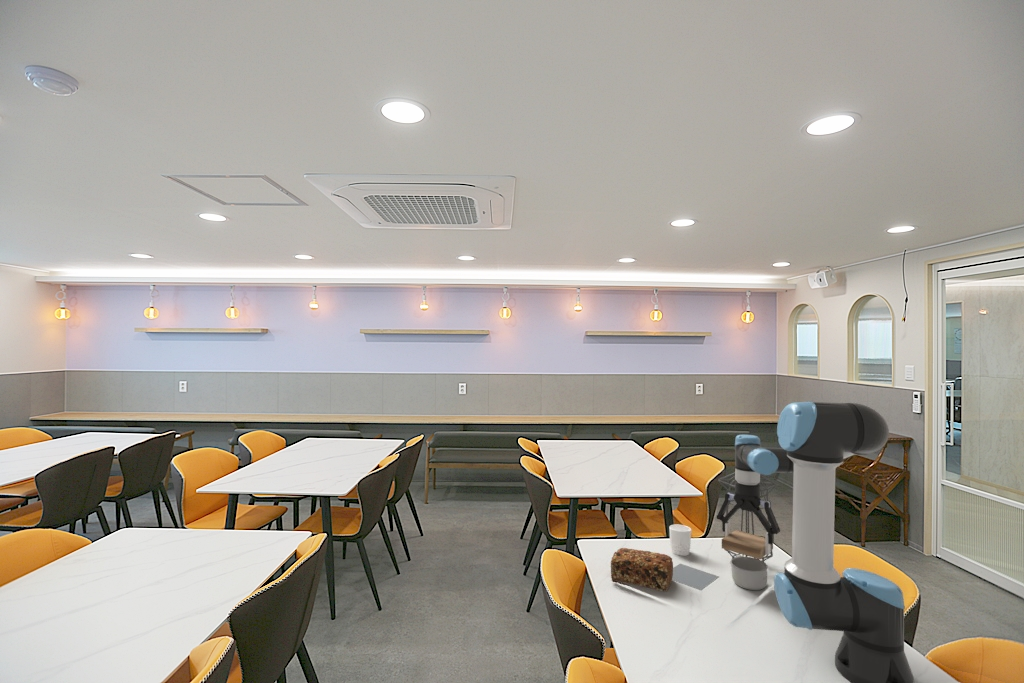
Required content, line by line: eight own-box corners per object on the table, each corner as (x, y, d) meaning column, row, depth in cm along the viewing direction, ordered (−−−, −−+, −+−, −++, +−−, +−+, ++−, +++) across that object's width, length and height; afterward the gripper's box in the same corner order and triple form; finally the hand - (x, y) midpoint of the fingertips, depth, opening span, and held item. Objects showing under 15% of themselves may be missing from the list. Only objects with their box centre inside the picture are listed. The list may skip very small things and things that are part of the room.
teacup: (771, 597, 154) (771, 571, 154) (734, 593, 156) (735, 567, 156) (758, 577, 167) (758, 553, 168) (725, 574, 170) (725, 550, 170)
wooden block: (760, 559, 154) (760, 549, 154) (721, 548, 162) (721, 539, 162) (773, 548, 162) (773, 539, 162) (735, 538, 171) (735, 530, 171)
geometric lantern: (752, 577, 167) (752, 474, 168) (714, 559, 181) (714, 464, 182) (781, 568, 175) (781, 469, 175) (743, 552, 188) (743, 461, 189)
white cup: (664, 552, 188) (664, 526, 188) (680, 549, 191) (680, 523, 191) (679, 560, 181) (679, 532, 181) (695, 556, 184) (695, 529, 184)
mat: (701, 593, 155) (701, 590, 155) (660, 578, 165) (660, 575, 165) (719, 579, 165) (719, 576, 165) (680, 566, 175) (680, 563, 175)
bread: (673, 583, 163) (673, 552, 163) (666, 596, 153) (666, 564, 154) (619, 570, 172) (619, 541, 172) (609, 582, 163) (609, 552, 163)
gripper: (791, 487, 156) (791, 555, 156) (715, 473, 174) (715, 534, 173) (783, 492, 151) (783, 562, 151) (706, 476, 169) (706, 540, 168)
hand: (747, 547), depth 162 cm, fingers closed on wooden block, 12 cm apart
